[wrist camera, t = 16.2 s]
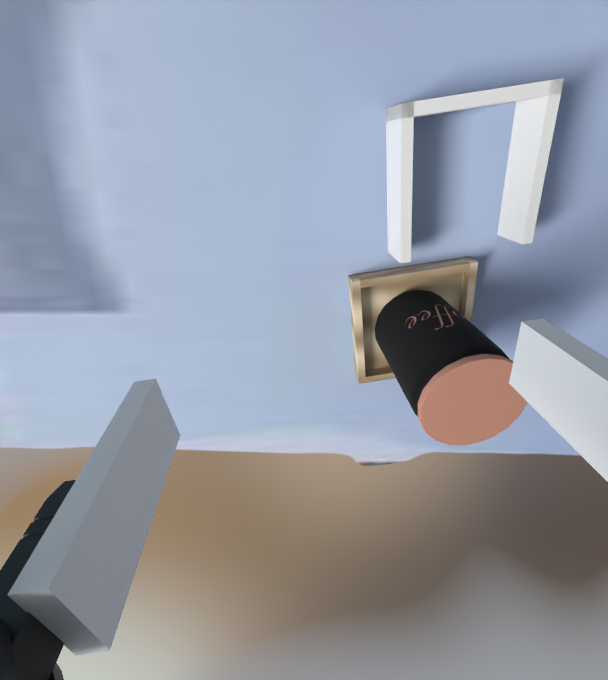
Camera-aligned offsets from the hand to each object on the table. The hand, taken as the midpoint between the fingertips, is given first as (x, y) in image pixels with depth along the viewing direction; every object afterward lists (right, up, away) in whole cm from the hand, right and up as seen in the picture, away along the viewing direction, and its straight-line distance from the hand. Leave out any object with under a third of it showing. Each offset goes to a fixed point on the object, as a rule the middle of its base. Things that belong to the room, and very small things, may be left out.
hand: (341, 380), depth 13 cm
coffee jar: (+13, +4, +36) cm, 38 cm away
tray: (+13, +4, +36) cm, 39 cm away
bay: (+16, +21, +28) cm, 38 cm away
